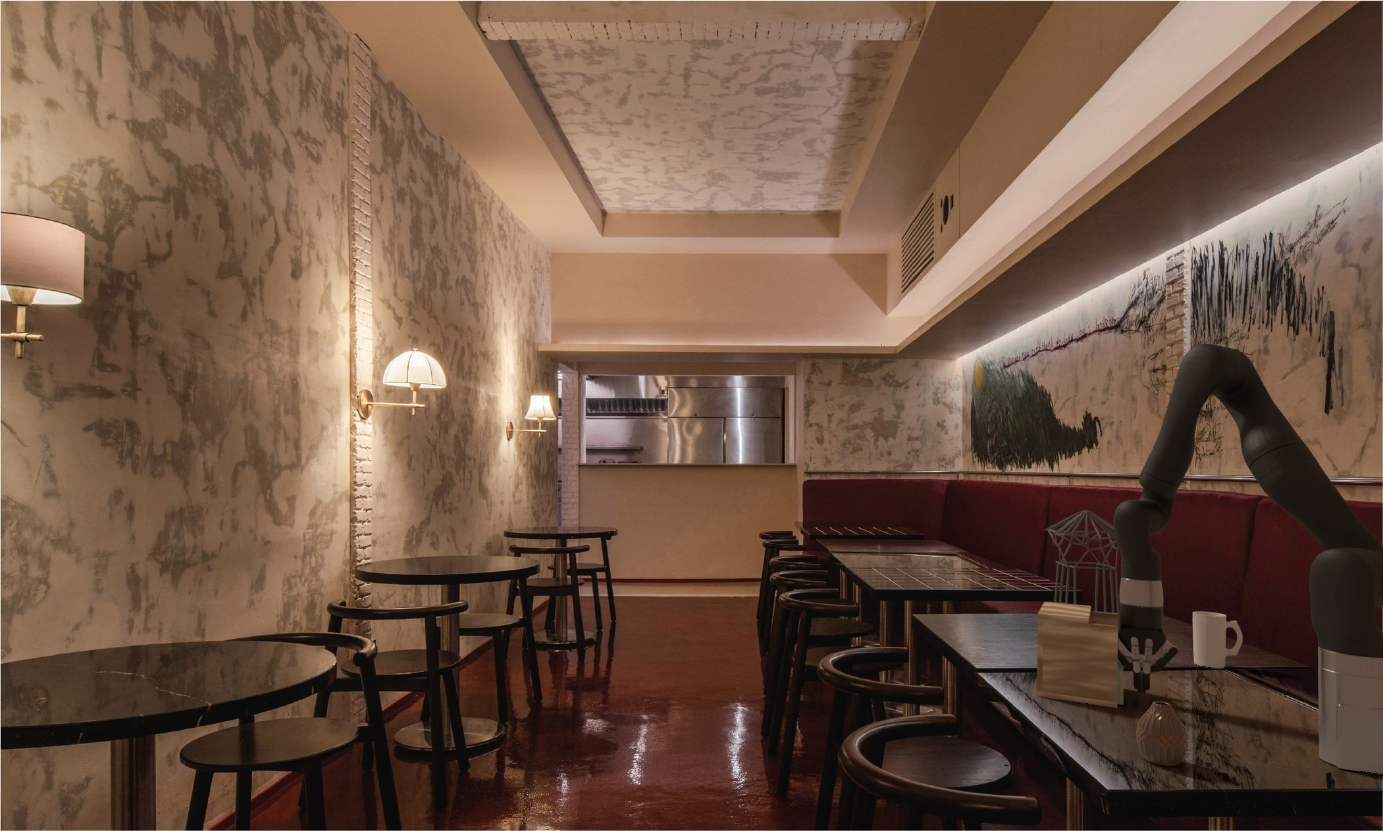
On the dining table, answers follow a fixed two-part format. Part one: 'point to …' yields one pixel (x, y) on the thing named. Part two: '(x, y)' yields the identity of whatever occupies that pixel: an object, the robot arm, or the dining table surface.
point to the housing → (1077, 654)
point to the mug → (1213, 639)
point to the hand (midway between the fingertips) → (1141, 691)
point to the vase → (1162, 735)
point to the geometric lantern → (1077, 520)
